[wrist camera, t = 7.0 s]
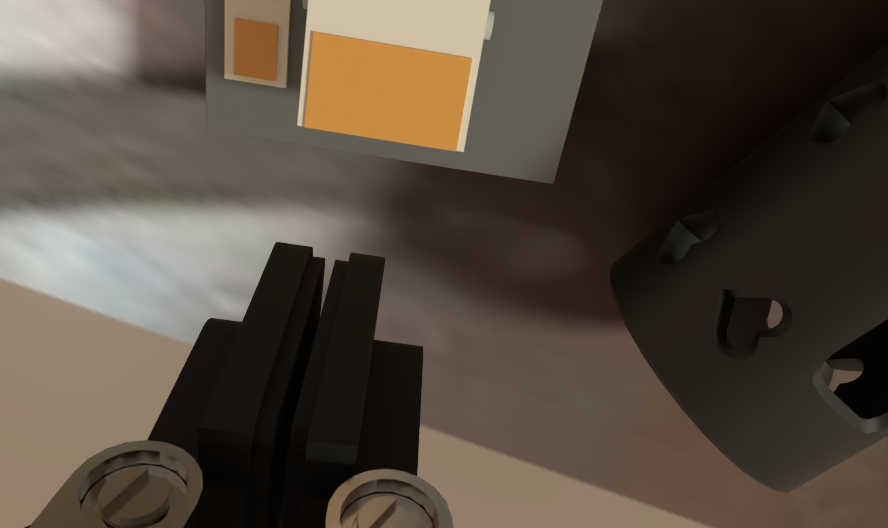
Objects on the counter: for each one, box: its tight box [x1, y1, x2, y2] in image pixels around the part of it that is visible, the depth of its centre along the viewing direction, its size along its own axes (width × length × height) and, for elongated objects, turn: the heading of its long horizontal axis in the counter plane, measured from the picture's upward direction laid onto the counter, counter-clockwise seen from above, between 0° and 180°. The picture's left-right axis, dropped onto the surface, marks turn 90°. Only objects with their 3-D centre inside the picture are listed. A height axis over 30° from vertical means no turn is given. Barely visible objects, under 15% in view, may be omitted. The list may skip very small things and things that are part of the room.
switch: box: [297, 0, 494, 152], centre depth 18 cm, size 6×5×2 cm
